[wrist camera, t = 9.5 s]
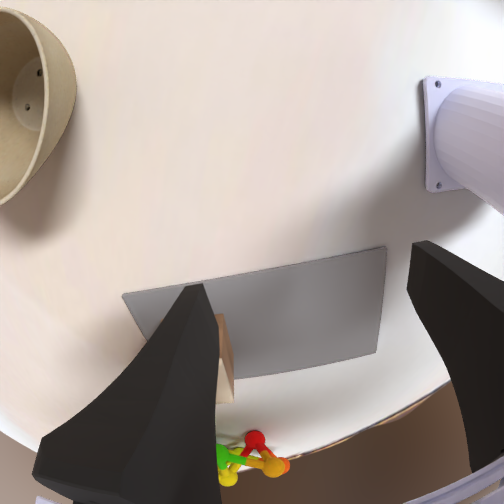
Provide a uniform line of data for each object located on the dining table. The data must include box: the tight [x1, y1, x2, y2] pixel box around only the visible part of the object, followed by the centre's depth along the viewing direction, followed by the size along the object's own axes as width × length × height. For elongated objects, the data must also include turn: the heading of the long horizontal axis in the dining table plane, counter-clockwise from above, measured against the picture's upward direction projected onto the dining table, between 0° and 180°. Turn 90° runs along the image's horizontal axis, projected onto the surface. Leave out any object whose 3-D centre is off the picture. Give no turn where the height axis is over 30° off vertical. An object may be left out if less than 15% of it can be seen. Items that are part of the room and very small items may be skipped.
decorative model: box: [216, 431, 290, 486], centre depth 33 cm, size 13×9×15 cm
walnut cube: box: [161, 314, 234, 404], centre depth 23 cm, size 5×5×5 cm
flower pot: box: [0, 7, 77, 206], centre depth 11 cm, size 10×10×7 cm
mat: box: [122, 247, 387, 380], centre depth 25 cm, size 20×12×1 cm, turn 101°
